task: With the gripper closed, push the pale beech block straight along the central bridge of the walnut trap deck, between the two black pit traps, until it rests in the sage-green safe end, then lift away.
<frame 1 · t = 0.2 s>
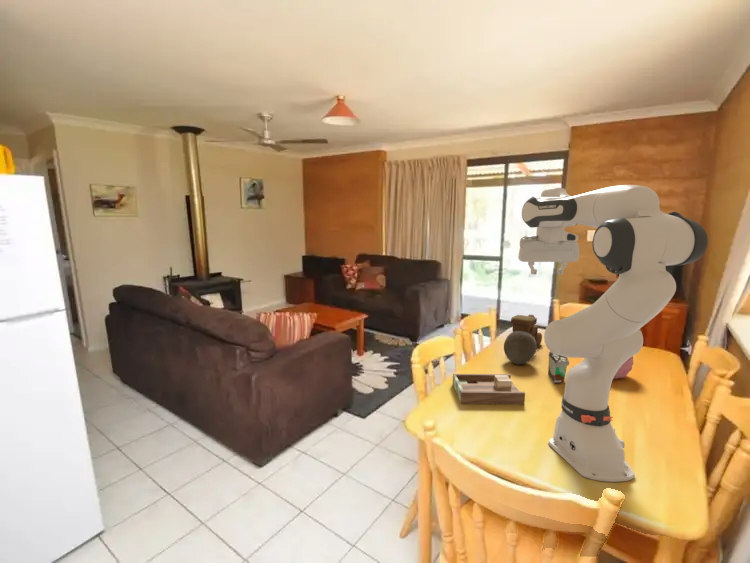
hand: (546, 274, 130), 47 cm above the table, fingers open, 8 cm apart
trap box: (487, 393, 140), on the table
wooden toy train: (525, 346, 193), on the table
food container: (558, 380, 152), on the table
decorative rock: (611, 375, 157), on the table
beech block: (502, 387, 140), point 2 cm above the table, touching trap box
dark brown round ball: (518, 363, 170), on the table
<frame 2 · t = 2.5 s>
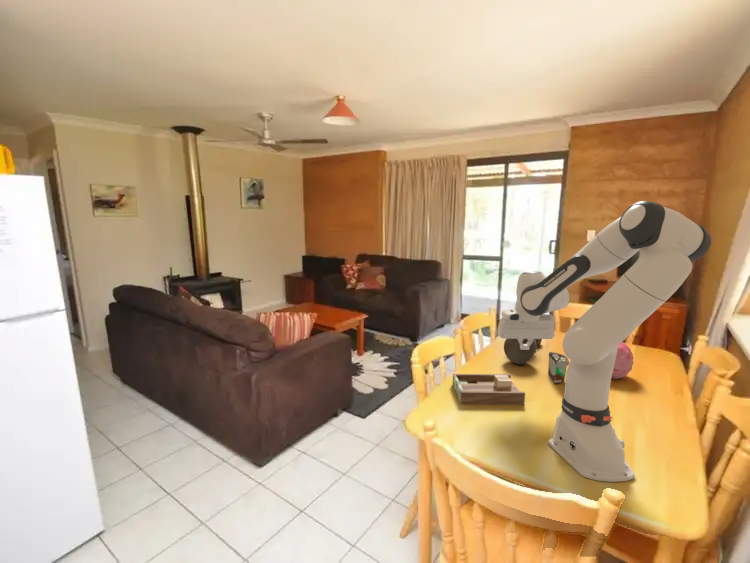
hand: (524, 349, 137), 18 cm above the table, fingers closed
nothing on the table moved.
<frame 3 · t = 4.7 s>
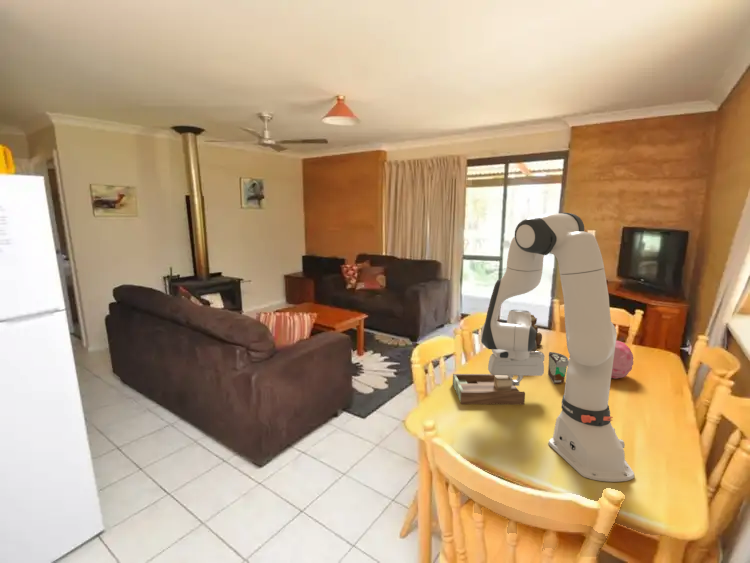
hand: (514, 385, 139), 4 cm above the table, fingers closed
beech block: (502, 387, 140), point 2 cm above the table, touching gripper, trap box
everything else where it was.
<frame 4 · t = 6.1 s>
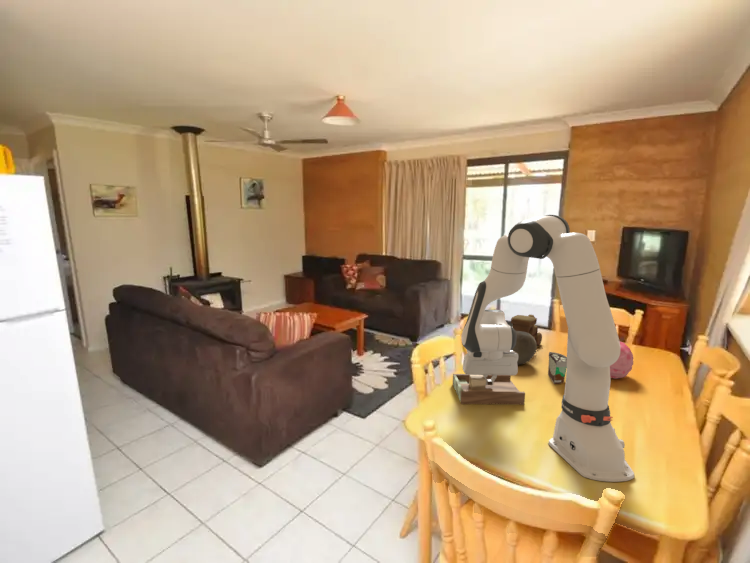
hand: (489, 384, 140), 4 cm above the table, fingers closed
beech block: (477, 387, 140), point 3 cm above the table, touching gripper
everything else where it was.
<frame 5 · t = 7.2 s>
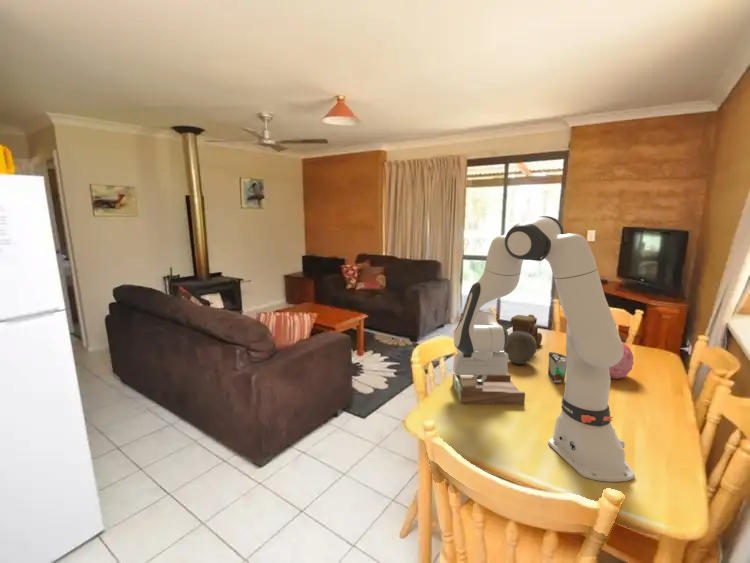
hand: (479, 384, 140), 4 cm above the table, fingers closed
beech block: (467, 387, 140), point 2 cm above the table, touching gripper, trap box
everything else where it was.
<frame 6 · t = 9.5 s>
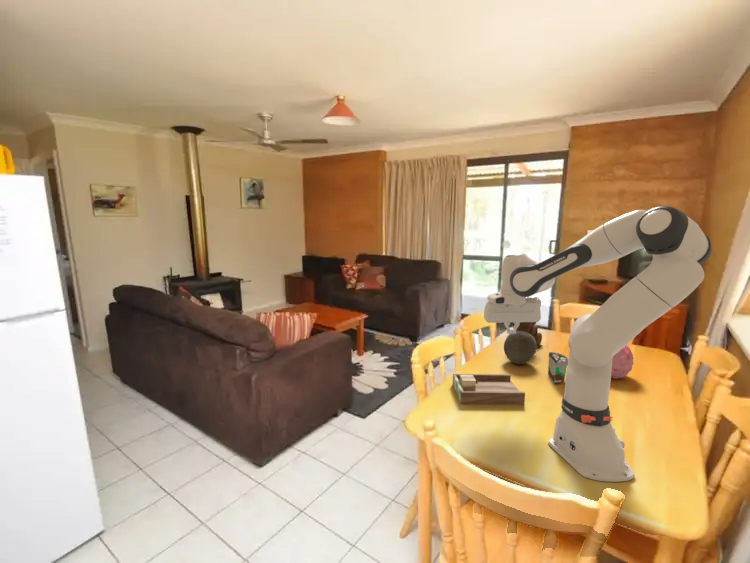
hand: (511, 333, 136), 24 cm above the table, fingers closed
beech block: (467, 387, 140), point 2 cm above the table, touching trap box
everything else where it was.
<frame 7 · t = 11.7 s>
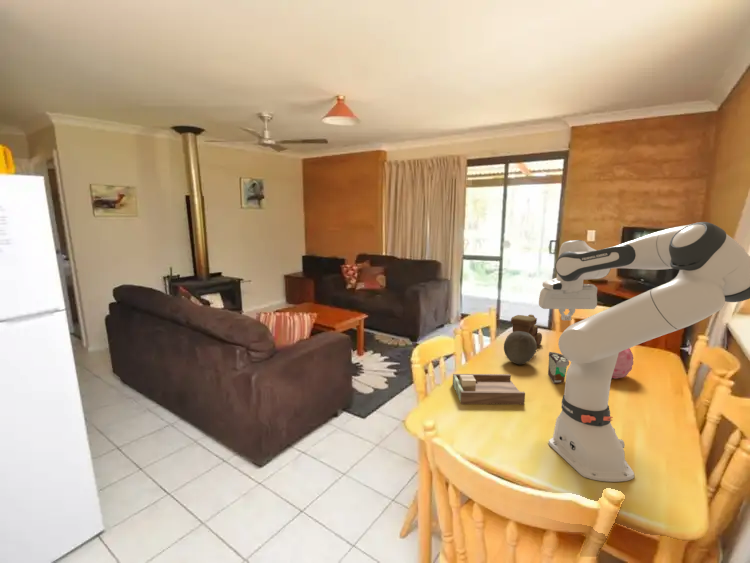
hand: (565, 320, 137), 29 cm above the table, fingers closed
nothing on the table moved.
at the end: beech block 0.4 cm from the target spot on the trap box, point 2.5 cm above the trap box's base; beech block tilted 0° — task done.
